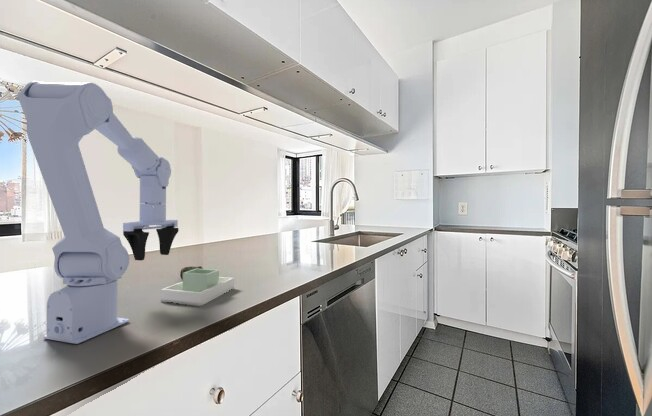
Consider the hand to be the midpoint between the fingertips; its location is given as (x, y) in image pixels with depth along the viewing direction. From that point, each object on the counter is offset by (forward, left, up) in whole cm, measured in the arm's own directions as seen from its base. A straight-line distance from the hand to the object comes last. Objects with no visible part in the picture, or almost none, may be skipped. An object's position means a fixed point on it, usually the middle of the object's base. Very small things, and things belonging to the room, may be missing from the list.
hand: (152, 257), depth 71 cm
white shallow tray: (+4, -11, -10) cm, 15 cm away
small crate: (+4, -11, -9) cm, 15 cm away
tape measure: (+17, +1, -10) cm, 20 cm away
